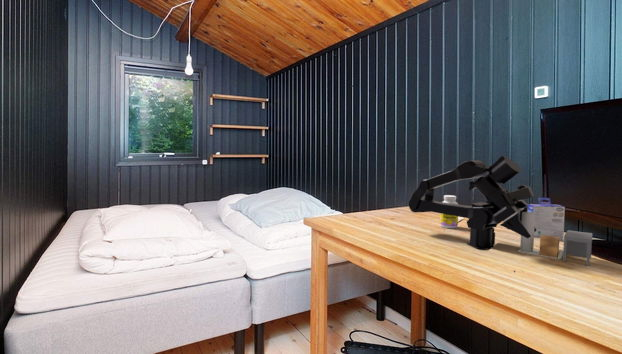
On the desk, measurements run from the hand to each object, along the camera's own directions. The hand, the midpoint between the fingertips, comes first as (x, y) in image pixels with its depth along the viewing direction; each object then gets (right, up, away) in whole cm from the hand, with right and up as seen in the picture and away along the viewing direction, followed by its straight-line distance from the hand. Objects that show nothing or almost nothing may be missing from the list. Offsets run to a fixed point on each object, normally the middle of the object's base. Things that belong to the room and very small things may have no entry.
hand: (532, 234), depth 95 cm
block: (+3, -5, -2) cm, 7 cm away
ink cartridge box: (+17, -5, +19) cm, 26 cm away
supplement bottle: (-8, -4, +38) cm, 39 cm away
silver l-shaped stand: (+2, -6, -1) cm, 7 cm away
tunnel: (+8, -7, -7) cm, 12 cm away
